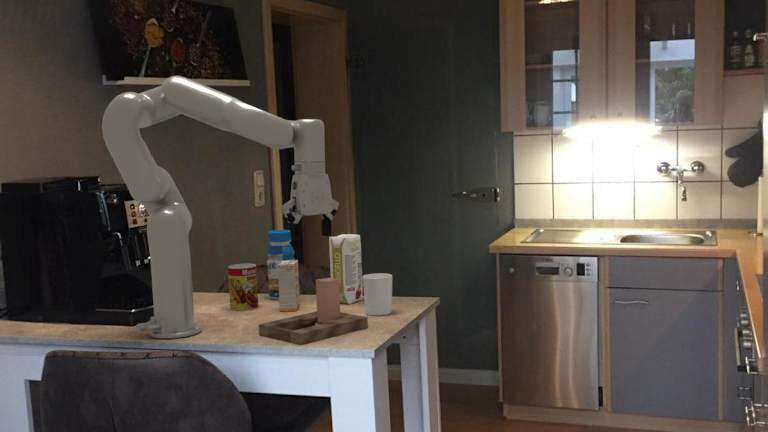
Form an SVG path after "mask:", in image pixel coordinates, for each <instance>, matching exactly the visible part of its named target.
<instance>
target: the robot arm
mask: <svg viewBox="0 0 768 432" xmlns="http://www.w3.org/2000/svg"><path fill="white" fill-rule="evenodd" d="M179 115H184V116H186V117H189V118H191V119H194V120H197V121H199V122H201V123H204V124H206V125H209V126H212V127H213V128H216V129H219V130H220V131H221V130H222V131H225V132H230V133H233V134H235V135H237V136H238V135H239V136H241V137H244V138H246V139H248V140H252V141H253V142H256V143H259V144H261V145H264V146H265V147H268V148H271V149H272V150H273V149H274V150H283V149H288V148H293V150H294V151H293V152H294V153H293V154H294V164H292V165H291V171H294V174H293V175H292V180H291V185H290V186H291V188H290V189H291V190H290V200H288V201H287V202H285V203H284V204H283V205H281V207H280V209H281V211H282V213H283V217H284V218H285V219H286V220H287V223H289V224H290V225H289V226H290V227H289V228H290V229H289V230H290V234H291V240H296V241H298V240H299V241H300V240H301V238H302V234H301V233H302V232H301V230H302V229H301V227H302V226H301V223H299V222H300V220H301V219H302V217H303V216H318V215H320V216H321V217H322V220H321V221H320V223H321V236H322V237H332V232H333V231H332V221H333V220H334V219H335V218H334V217H335V215H337V212H338V211H337V210H338V208H339V206H340V203H339V201H337V200H335V199H334V198H332V187H331V181H330V178H329V174H328V173H326V155H325V154H326V147H325V146H326V145H325V140H326V139H325V124H324V122H323V120H322V119H317V118H302V119H300V118H299V119H297V120H289V119H285V118H282V117H280V116H277V115H275V114H273V113H270V112H267V111H265V110H262V109H260V108H257V107H255V106H253V105H251V104H247V103H246V102H243V101H242V100H239V98H236V97H235V96H234V97H233V96H232V95H230V94H227V93H225V92H222V91H220V90H217V89H214V88H212V87H209V86H207V85H204V84H202V83H199V82H197V81H195V80H192V79H190V78H187V77H184V76H181V75H172V76H170V77H168V78H166V79H165V80H164V81H163V82H162V84H161V85H159V86H157V87H154V88H151V89H148V90H145V91H143V92H140V93H137V92H134V91H126V92H125V91H124V92H122V93H120V94H118V95H116V96H115V97H113V99H112V100H111V101H110V102H109V104H108V106H107V107H106V108H105V111H104V113H103V117H102V121H101V123H102V124H101V130H102V136H103V140H104V143H105V145H106V148H107V150H108V152H109V154H110V155H111V158H112V159H113V161H114V163H115V166H116V167H117V170H118V172H119V174H120V175H121V178H122V179H123V181H124V183H125V185H126V188H127V190H128V191H129V193H130V196H131V197H132V198H133V200H135V201H136V202H137V203H139V204H141V205H143V207H144V209H145V211H146V212H147V214H148V216H149V218H148V221H147V224H146V225H147V226H146V235H147V243H148V250H149V258H150V273H151V286H152V300H153V303H152V304H153V314H154V315H153V316H150V318H149V320H148V321H147V322H142V323H137V324H136V325H135V329H136V332H137V333H139V332H140V333H141V332H145V331H147V332H148V336H149V337H151V338H155V339H162V340H163V339H164V340H165V339H179V338H186V337H190V336H194V335H196V334H199V333H201V332H202V325H200V324H198V323H195V312H194V311H195V309H194V295H193V293H194V292H193V277H192V276H193V275H192V265H191V264H192V263H191V262H192V261H191V260H192V259H191V249H190V240H189V233H190V231H191V229H192V225H193V217H192V214H191V212H190V210H189V208H188V206H187V204H186V202H185V201H184V198H183V197H182V194H181V193H180V191H179V189H178V187H177V185H176V183H175V181H174V180H173V178H172V176H171V174H170V173H169V172H168V171H167V170H166V169H164V168H163V167H161V166H159V165H158V164H157V163H156V161H155V159H154V157H153V156H152V154H151V151H150V150H149V147H148V145H147V144H146V142H145V141H144V139H143V136H142V135H141V130H140V129H144V128H147V127H151V126H152V125H156V124H159V123H160V122H164V121H167V120H169V119H172V118H175V117H178V116H179Z"/></svg>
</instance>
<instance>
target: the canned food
mask: <svg viewBox="0 0 768 432" xmlns="http://www.w3.org/2000/svg"><path fill="white" fill-rule="evenodd" d="M227 275H228V294H229V307H230V310H231V311H236V310H240V312H241V310H244V311H252V310H255V309H256V310H257V309H258V308H259V296H258V295H259V294H258V275H257V264H255V263H237V264H236V263H235V264H231V265H228V266H227ZM251 309H252V310H251Z"/></svg>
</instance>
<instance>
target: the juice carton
mask: <svg viewBox="0 0 768 432" xmlns="http://www.w3.org/2000/svg"><path fill="white" fill-rule="evenodd" d="M328 238H329V239H328V240H329V241H328V244H329V245H328V247H329V251H328V252H329V265H330V266H329V271H330V278H334V279H339V297H340V304H345V305H351V304H354V303H357V302H360V301H363V298H364V289H363V278H362V276H363V264H362V262H363V261H362V241H361V235H360V234H354V233H353V234H352V233H347V234H345V233H344V234H343V233H342V234H339V235H337V236H328Z"/></svg>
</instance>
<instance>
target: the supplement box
mask: <svg viewBox="0 0 768 432" xmlns="http://www.w3.org/2000/svg"><path fill="white" fill-rule="evenodd" d="M299 274H300V273H299V260H298V259H295V260H288V261H282V262H280V263H279V264H278V280H279V311H280V312H297V310H298V309H299V306H300V305H301V301H300V300H301V299H300V298H301V297H300V283H299V282H300V280H299V279H300V278H299Z"/></svg>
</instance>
